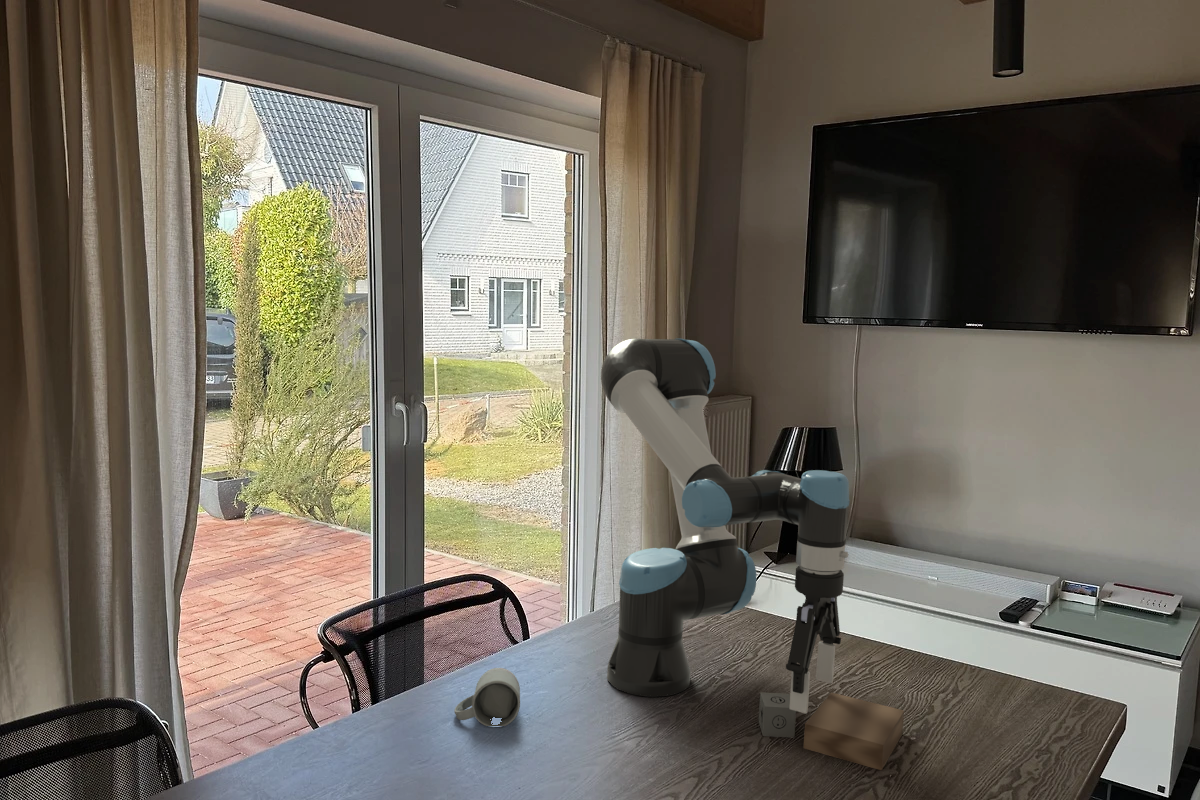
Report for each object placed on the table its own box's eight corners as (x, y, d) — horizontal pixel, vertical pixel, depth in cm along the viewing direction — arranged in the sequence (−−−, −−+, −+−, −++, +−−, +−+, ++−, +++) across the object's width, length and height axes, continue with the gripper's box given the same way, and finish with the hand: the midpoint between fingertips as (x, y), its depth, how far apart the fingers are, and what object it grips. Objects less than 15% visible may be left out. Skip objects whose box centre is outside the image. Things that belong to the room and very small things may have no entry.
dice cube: (794, 737, 145) (762, 735, 145) (788, 722, 150) (758, 720, 150) (796, 708, 144) (764, 706, 144) (790, 693, 149) (760, 692, 149)
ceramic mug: (519, 705, 153) (520, 661, 152) (519, 728, 145) (520, 681, 144) (456, 707, 152) (456, 663, 151) (452, 729, 144) (452, 683, 143)
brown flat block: (803, 748, 141) (804, 723, 141) (829, 715, 153) (831, 692, 153) (881, 770, 135) (883, 744, 135) (902, 734, 147) (904, 710, 147)
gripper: (819, 592, 132) (810, 730, 135) (863, 555, 154) (855, 675, 156) (770, 582, 136) (762, 717, 138) (820, 547, 158) (812, 665, 160)
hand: (811, 695), depth 147 cm, fingers open, 13 cm apart
